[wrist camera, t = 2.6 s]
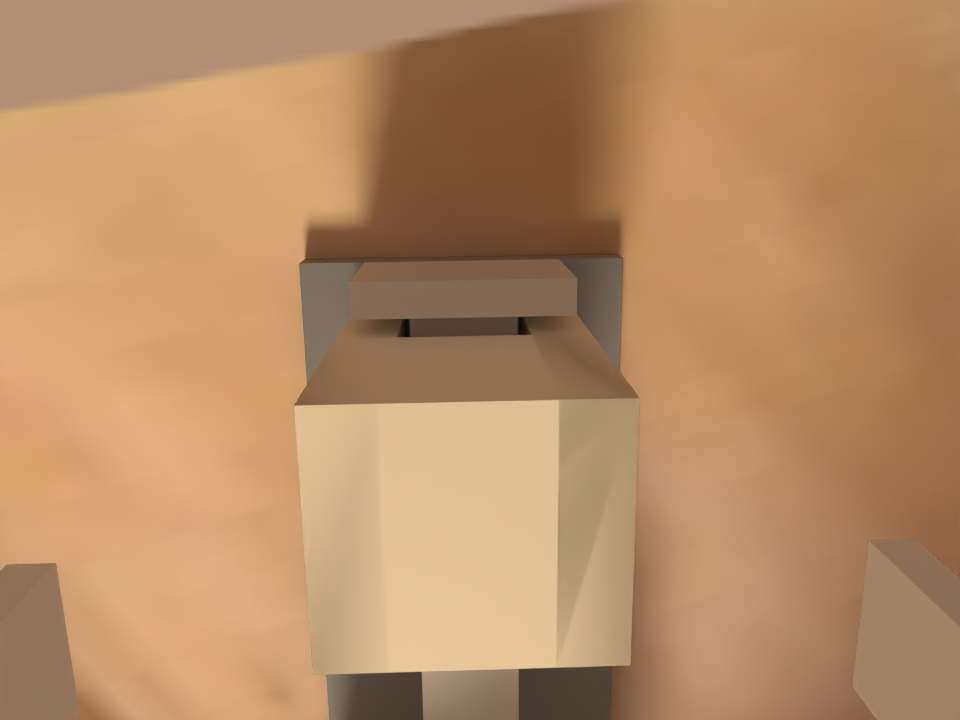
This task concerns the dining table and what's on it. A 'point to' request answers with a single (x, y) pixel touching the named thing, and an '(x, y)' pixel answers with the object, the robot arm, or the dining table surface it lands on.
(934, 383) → the dining table surface
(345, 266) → the grey slide base
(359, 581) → the block
